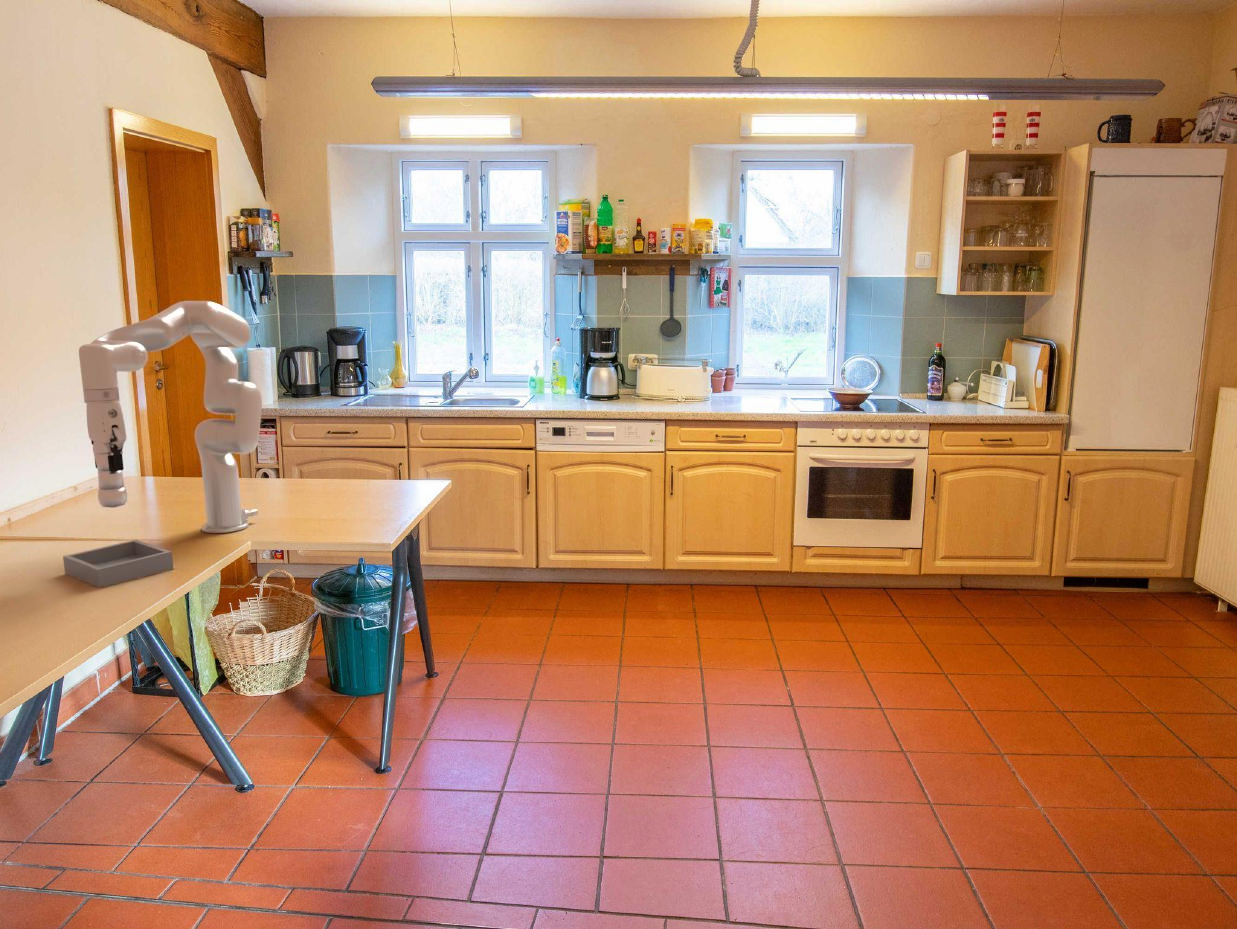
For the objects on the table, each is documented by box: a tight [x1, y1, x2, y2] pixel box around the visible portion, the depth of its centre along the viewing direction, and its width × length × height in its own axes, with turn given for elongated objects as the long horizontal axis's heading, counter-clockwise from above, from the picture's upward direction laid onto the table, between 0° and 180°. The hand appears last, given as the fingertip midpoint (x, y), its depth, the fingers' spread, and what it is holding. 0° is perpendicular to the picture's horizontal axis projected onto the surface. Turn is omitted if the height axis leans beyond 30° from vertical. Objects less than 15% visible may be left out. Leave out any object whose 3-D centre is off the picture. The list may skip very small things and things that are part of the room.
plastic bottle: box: [92, 440, 128, 509], centre depth 237 cm, size 6×7×20 cm
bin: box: [62, 539, 175, 589], centre depth 241 cm, size 18×18×4 cm
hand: (109, 468), depth 237 cm, fingers closed on plastic bottle, 6 cm apart
